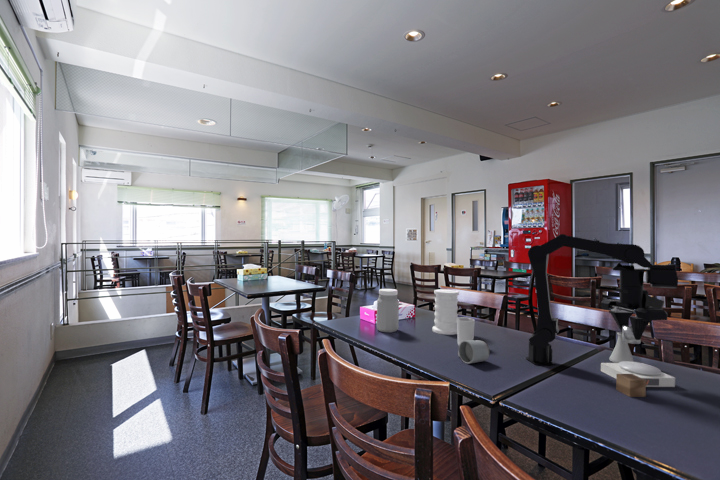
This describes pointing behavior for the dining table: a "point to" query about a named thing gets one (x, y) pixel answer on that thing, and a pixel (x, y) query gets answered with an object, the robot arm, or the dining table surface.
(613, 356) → the flask
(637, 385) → the walnut block
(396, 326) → the jar
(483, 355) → the ceramic mug
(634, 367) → the kitchen scale
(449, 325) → the decorative container
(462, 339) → the drinking glass
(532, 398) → the dining table surface
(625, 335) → the steel weight with knob
